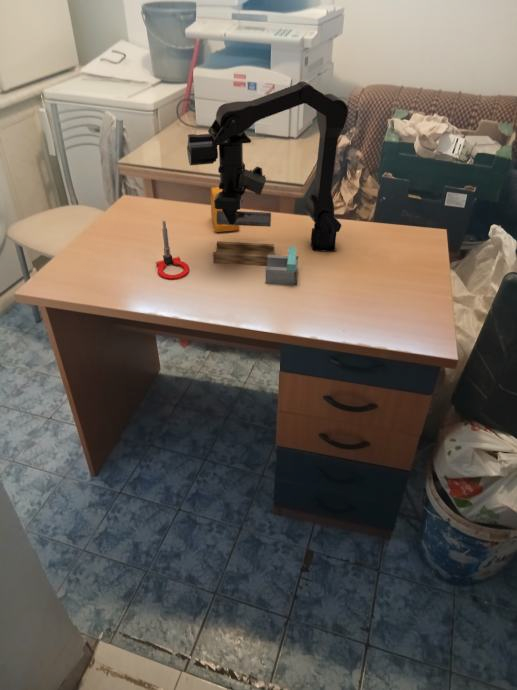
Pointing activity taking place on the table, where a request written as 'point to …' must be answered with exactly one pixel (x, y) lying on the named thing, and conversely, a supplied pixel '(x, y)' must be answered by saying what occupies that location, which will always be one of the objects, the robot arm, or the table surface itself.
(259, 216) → the rod
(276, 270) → the socket
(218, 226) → the bracket
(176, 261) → the tow hook
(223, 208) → the robot arm
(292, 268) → the teal rectangular block
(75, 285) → the table surface
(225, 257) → the rail
